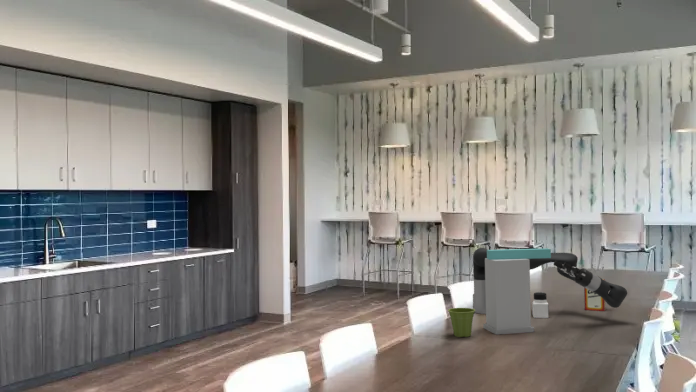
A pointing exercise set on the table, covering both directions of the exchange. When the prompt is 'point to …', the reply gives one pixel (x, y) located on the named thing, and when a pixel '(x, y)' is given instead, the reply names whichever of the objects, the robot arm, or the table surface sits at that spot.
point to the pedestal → (508, 296)
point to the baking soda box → (593, 301)
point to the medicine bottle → (540, 305)
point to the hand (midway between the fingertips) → (559, 263)
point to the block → (518, 254)
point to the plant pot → (461, 321)
